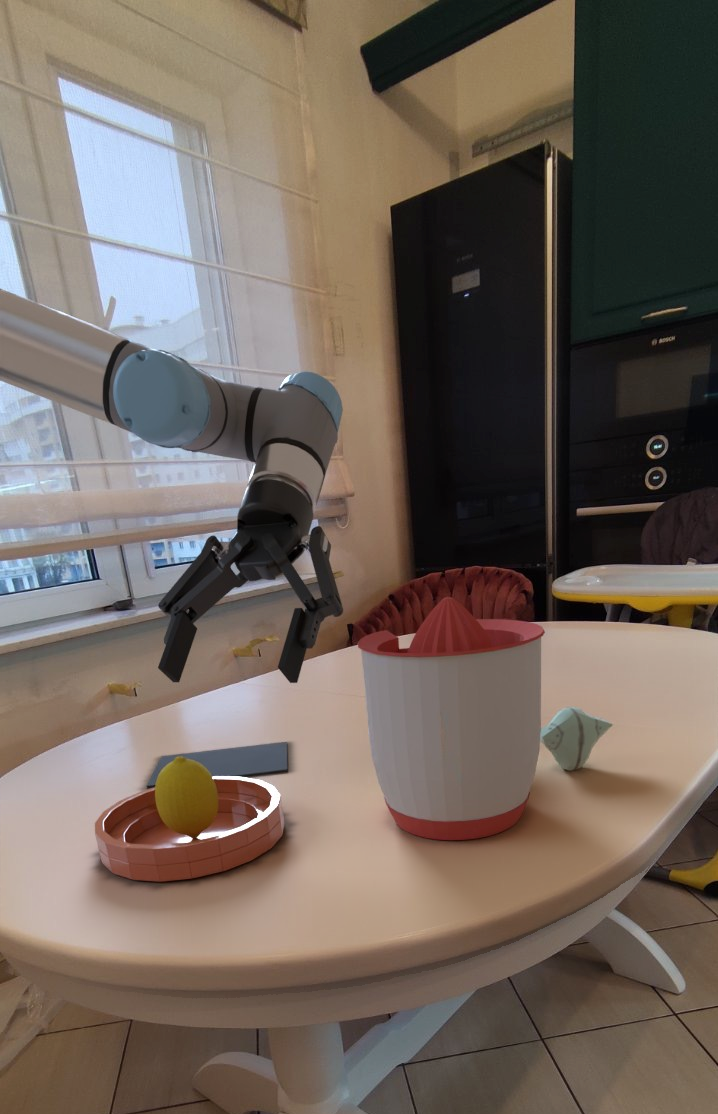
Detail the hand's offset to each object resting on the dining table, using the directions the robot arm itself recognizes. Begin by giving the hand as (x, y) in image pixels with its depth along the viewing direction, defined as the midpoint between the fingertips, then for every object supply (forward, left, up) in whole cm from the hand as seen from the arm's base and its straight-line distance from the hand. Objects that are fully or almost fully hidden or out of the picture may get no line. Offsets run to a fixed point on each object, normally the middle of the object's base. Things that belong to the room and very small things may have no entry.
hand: (225, 675), depth 70 cm
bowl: (+2, -9, -14) cm, 16 cm away
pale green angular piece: (+27, +21, -14) cm, 37 cm away
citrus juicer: (+21, +6, -14) cm, 26 cm away
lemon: (+2, -9, -13) cm, 16 cm away
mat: (-12, +8, -14) cm, 20 cm away
